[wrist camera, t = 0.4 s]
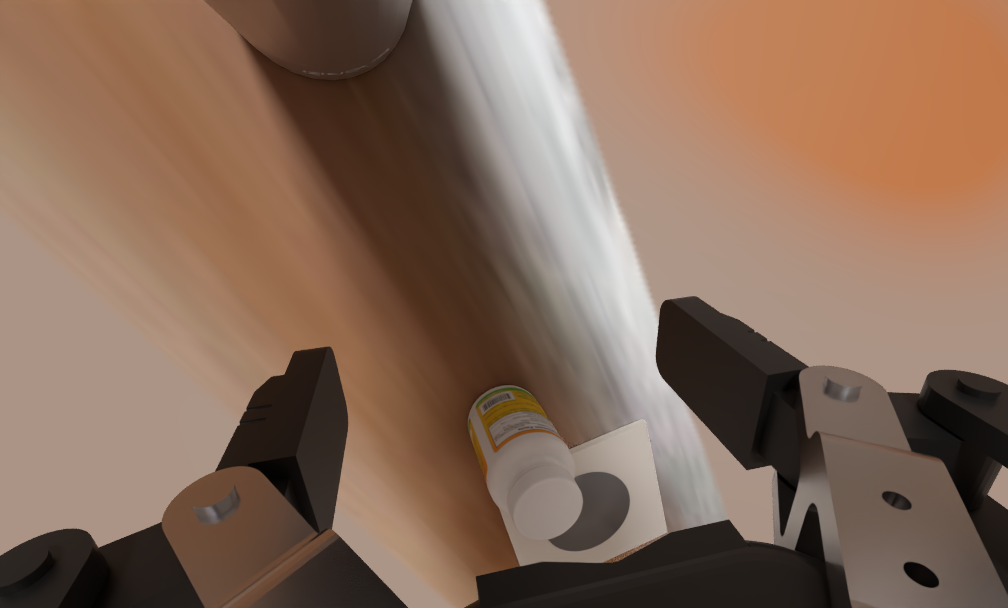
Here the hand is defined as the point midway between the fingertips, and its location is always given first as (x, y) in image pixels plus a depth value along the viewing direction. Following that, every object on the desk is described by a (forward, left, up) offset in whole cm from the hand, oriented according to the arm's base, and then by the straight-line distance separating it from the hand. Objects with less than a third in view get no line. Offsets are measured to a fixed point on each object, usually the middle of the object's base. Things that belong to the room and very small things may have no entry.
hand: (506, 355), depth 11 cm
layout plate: (+25, +5, -19) cm, 32 cm away
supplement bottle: (+14, +1, -19) cm, 24 cm away
